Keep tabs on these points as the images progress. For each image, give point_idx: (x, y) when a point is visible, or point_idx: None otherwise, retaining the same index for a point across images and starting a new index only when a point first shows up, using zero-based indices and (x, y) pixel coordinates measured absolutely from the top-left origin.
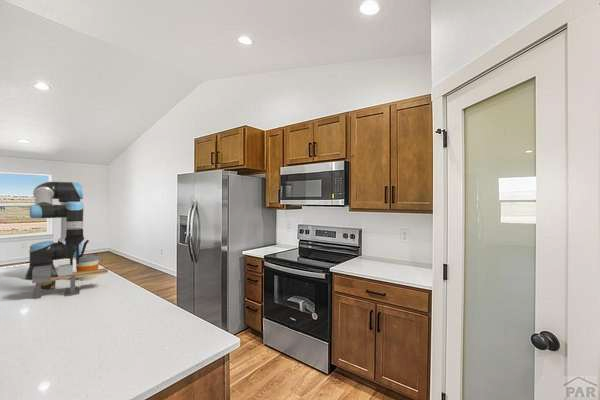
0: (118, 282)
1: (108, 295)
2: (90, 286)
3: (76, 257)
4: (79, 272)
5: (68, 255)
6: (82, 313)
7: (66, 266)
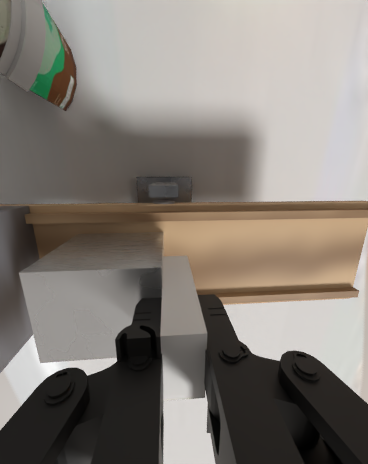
0: (343, 180)
1: (269, 342)
2: (233, 172)
3: (213, 419)
4: (204, 219)
5: (68, 435)
6: (194, 444)
7: (113, 353)
